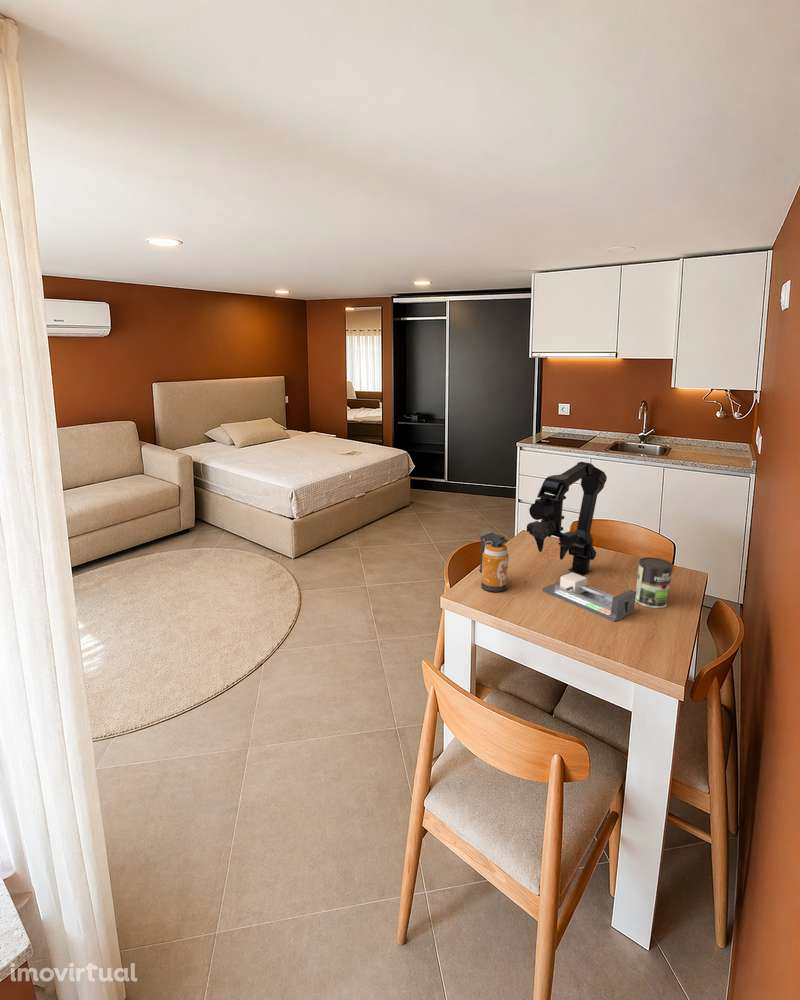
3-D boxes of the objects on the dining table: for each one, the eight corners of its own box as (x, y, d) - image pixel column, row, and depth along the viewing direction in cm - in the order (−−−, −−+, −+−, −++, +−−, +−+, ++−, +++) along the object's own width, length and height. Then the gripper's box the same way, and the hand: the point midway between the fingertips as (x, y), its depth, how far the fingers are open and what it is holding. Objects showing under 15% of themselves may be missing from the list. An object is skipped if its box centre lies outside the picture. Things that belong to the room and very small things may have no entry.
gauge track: (563, 582, 199) (565, 564, 197) (635, 611, 177) (637, 591, 175) (542, 590, 192) (543, 571, 190) (614, 621, 170) (616, 600, 168)
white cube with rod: (570, 585, 193) (572, 572, 191) (608, 600, 181) (610, 586, 180) (553, 592, 187) (555, 578, 186) (591, 608, 176) (593, 593, 174)
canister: (495, 595, 188) (498, 540, 183) (471, 585, 196) (473, 532, 191) (511, 588, 194) (515, 535, 188) (488, 578, 202) (490, 527, 196)
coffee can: (674, 606, 181) (680, 566, 177) (648, 610, 178) (653, 570, 174) (652, 593, 190) (658, 555, 186) (627, 596, 188) (632, 558, 184)
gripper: (516, 511, 190) (515, 553, 195) (560, 525, 176) (557, 569, 180) (538, 505, 197) (535, 545, 201) (581, 518, 182) (578, 561, 187)
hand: (550, 555), depth 192 cm, fingers open, 9 cm apart
